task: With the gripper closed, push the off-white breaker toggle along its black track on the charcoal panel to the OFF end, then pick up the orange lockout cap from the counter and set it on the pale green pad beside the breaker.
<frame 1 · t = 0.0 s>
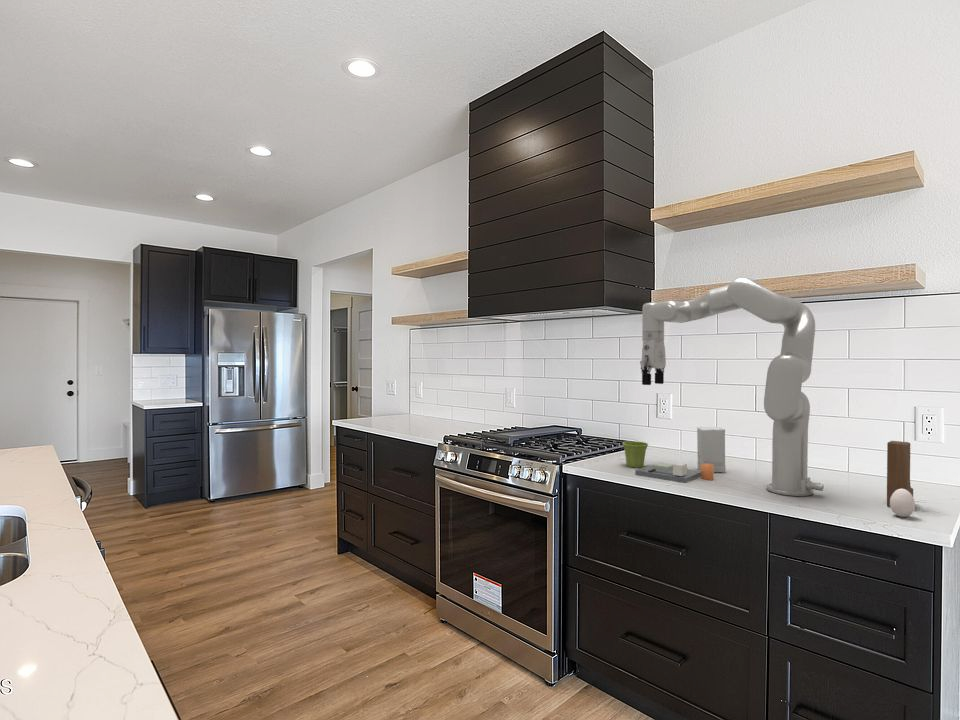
hand: (652, 384, 204), 31 cm above the table, tool pointing down, fingers open, 9 cm apart
egg: (902, 517, 147), on the table
breaker board: (668, 475, 196), on the table
lockout cap: (707, 479, 190), on the table
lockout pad: (663, 471, 202), resting on breaker board
plant pot: (635, 466, 211), on the table
skincare box: (711, 471, 202), on the table
breaker toggle: (679, 469, 188), point 4 cm above the table, slide at 0.0 cm
wooden block: (900, 506, 157), on the table
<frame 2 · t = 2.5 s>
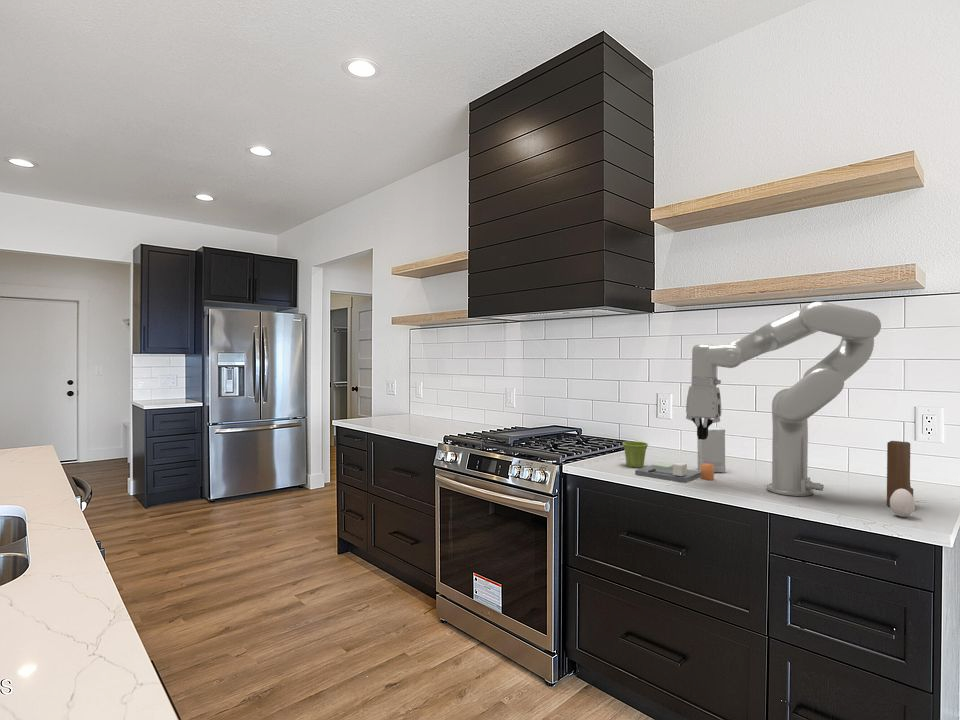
hand: (702, 438, 183), 15 cm above the table, tool pointing down, fingers closed
nothing on the table moved.
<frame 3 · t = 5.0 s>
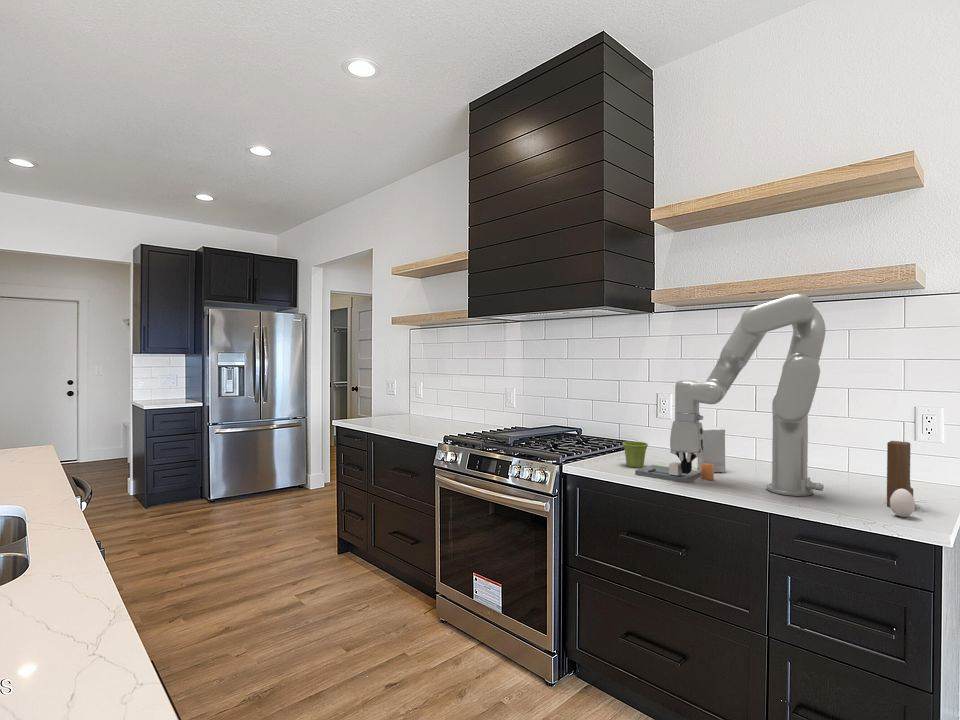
hand: (686, 472, 187), 3 cm above the table, tool pointing down, fingers closed
breaker toggle: (675, 468, 189), point 4 cm above the table, slide at 1.4 cm, touching gripper
everything else where it was.
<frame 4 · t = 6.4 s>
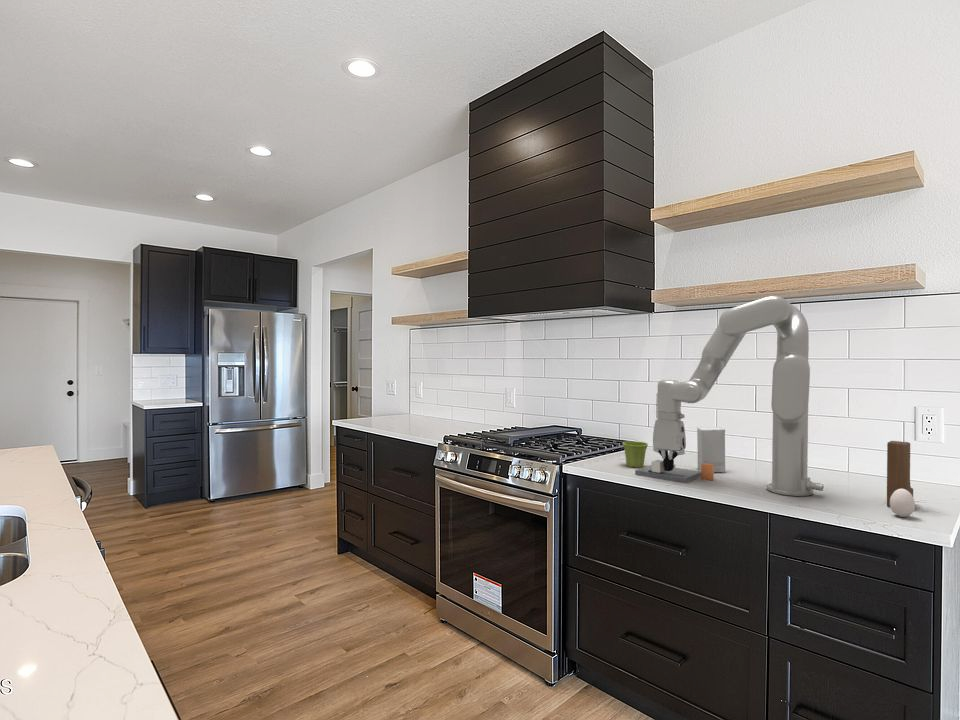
hand: (668, 470, 191), 3 cm above the table, tool pointing down, fingers closed
breaker toggle: (658, 466, 193), point 4 cm above the table, slide at 7.6 cm, touching gripper
everything else where it was.
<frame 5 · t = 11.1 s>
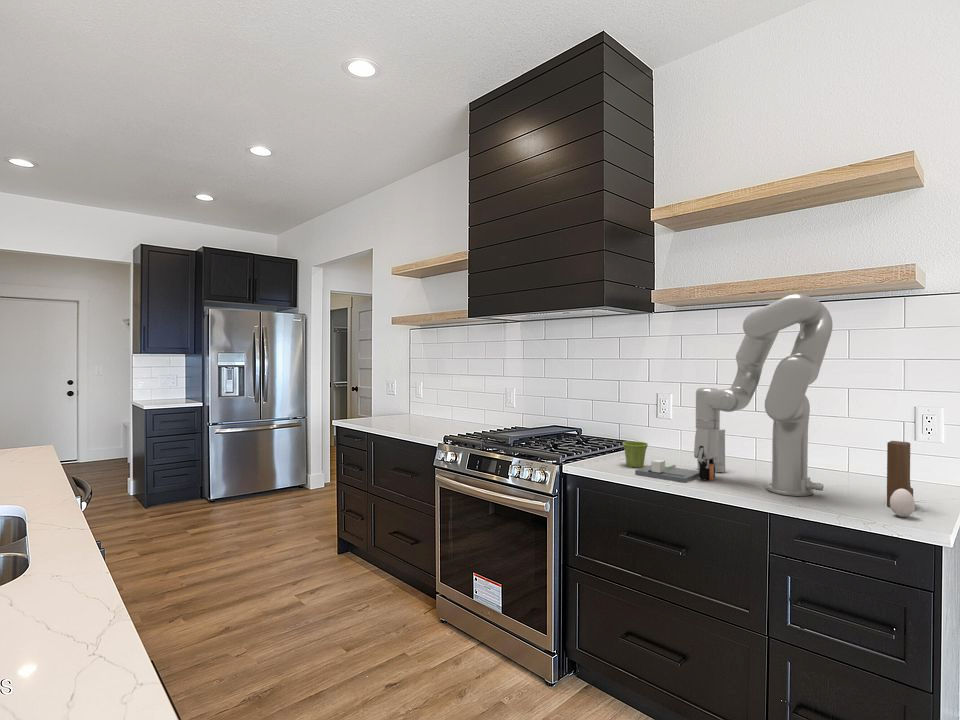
hand: (707, 478, 190), 0 cm above the table, tool pointing down, fingers closed on lockout cap, 4 cm apart
lockout cap: (707, 479, 190), on the table, touching gripper
breaker toggle: (658, 466, 194), point 4 cm above the table, slide at 7.7 cm
everything else where it was.
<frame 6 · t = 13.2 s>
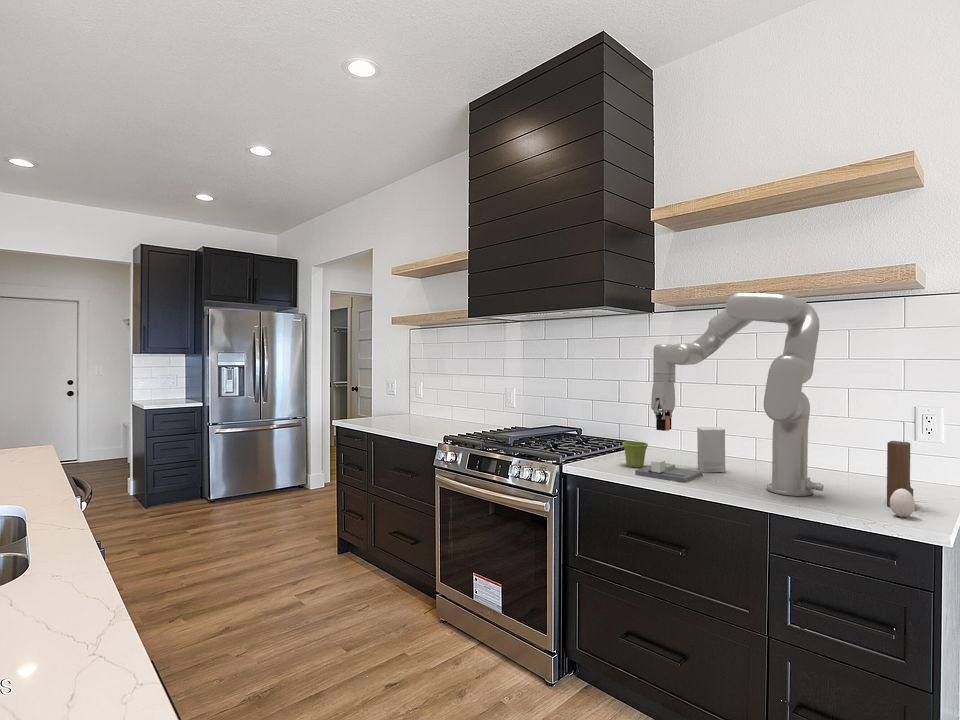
hand: (663, 429, 201), 15 cm above the table, tool pointing down, fingers closed on lockout cap, 4 cm apart
lockout cap: (663, 429, 201), point 15 cm above the table, touching gripper
everything else where it was.
when the fingers open (4 cm above the table, at t = 15.6 s): lockout cap stays where it is, resting on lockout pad.
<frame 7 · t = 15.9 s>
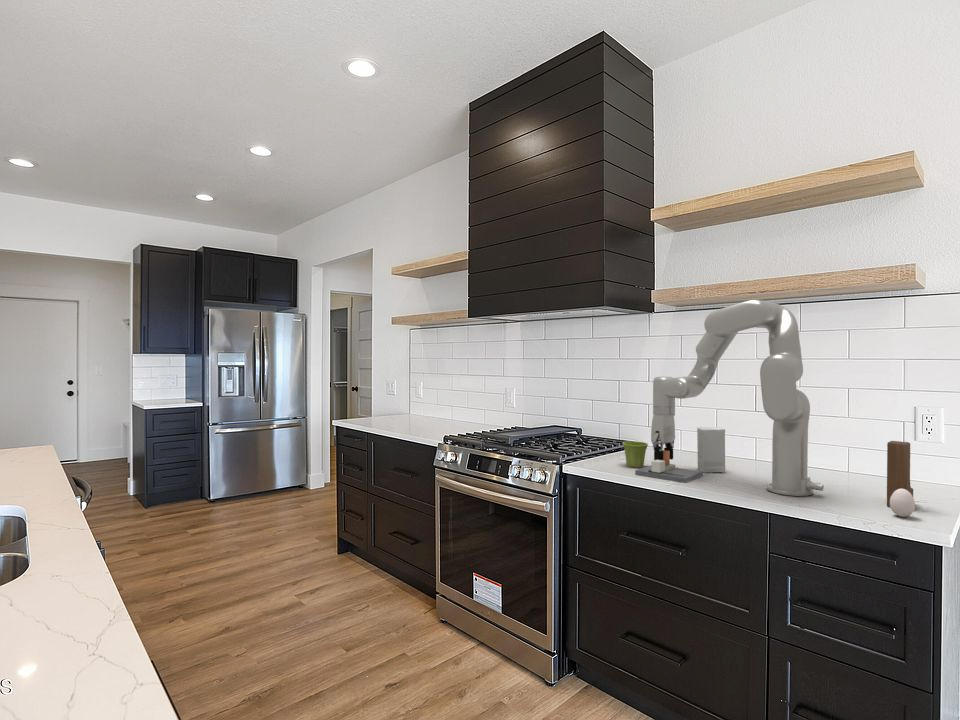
hand: (663, 460, 202), 4 cm above the table, tool pointing down, fingers open, 7 cm apart
lockout cap: (663, 464, 202), point 3 cm above the table, touching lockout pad
everything else where it was.
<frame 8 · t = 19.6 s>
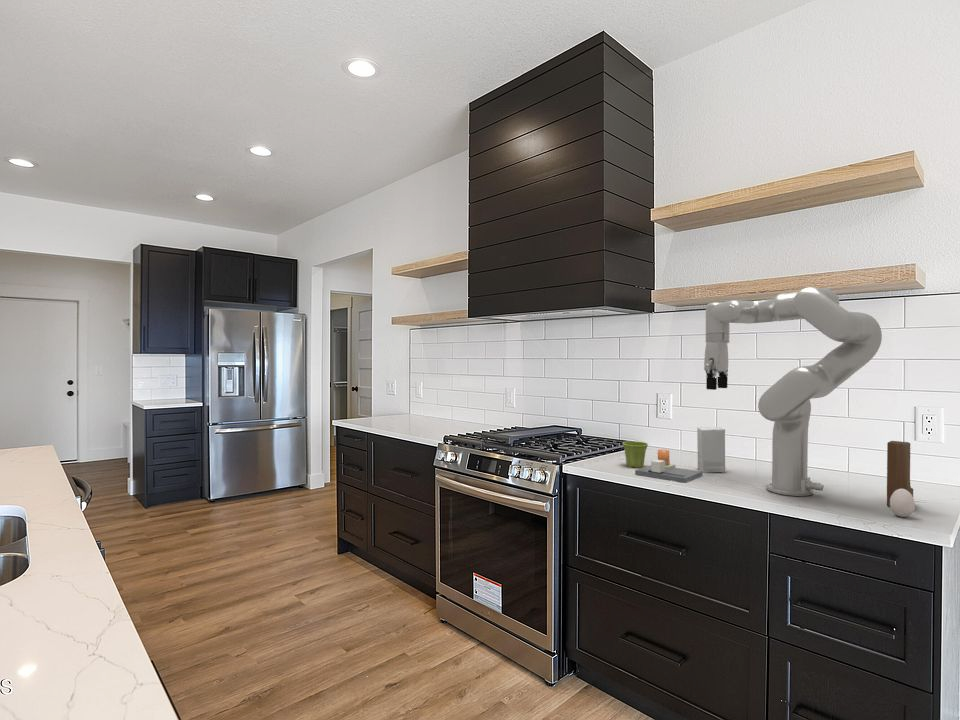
hand: (717, 388, 193), 30 cm above the table, tool pointing down, fingers open, 9 cm apart
nothing on the table moved.
at the end: breaker toggle slide at 7.7 cm; lockout cap 0.0 cm off-centre on the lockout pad, point 2.5 cm above the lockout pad's base; lockout cap tilted 2° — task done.
